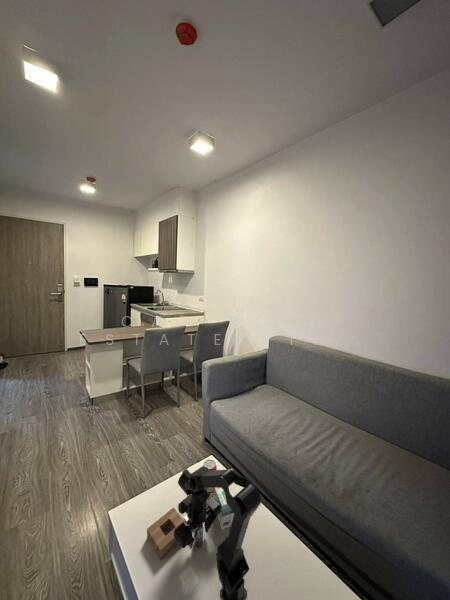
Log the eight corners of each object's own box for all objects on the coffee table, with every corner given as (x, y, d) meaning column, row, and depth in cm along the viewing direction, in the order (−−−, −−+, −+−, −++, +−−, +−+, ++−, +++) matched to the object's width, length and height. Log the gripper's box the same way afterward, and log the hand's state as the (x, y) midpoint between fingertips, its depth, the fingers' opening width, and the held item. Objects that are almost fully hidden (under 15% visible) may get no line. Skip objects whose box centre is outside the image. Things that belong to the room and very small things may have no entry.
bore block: (187, 534, 92) (187, 524, 92) (160, 559, 83) (160, 550, 83) (173, 515, 99) (173, 507, 99) (147, 537, 90) (147, 528, 90)
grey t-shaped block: (205, 522, 97) (205, 517, 96) (194, 533, 92) (194, 528, 92) (195, 510, 102) (195, 505, 101) (183, 520, 97) (183, 515, 97)
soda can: (214, 495, 109) (215, 471, 108) (200, 492, 110) (200, 468, 109) (218, 482, 116) (218, 459, 114) (204, 479, 117) (204, 457, 116)
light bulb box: (236, 524, 96) (237, 500, 95) (221, 530, 94) (221, 506, 93) (227, 501, 106) (227, 479, 105) (213, 506, 103) (213, 484, 102)
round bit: (204, 543, 89) (204, 526, 88) (197, 550, 87) (198, 533, 86) (199, 536, 91) (199, 520, 91) (192, 543, 89) (192, 526, 88)
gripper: (203, 474, 100) (203, 508, 101) (165, 504, 86) (165, 542, 88) (222, 491, 92) (221, 527, 93) (183, 527, 78) (183, 568, 80)
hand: (198, 539), depth 89 cm, fingers open, 7 cm apart
